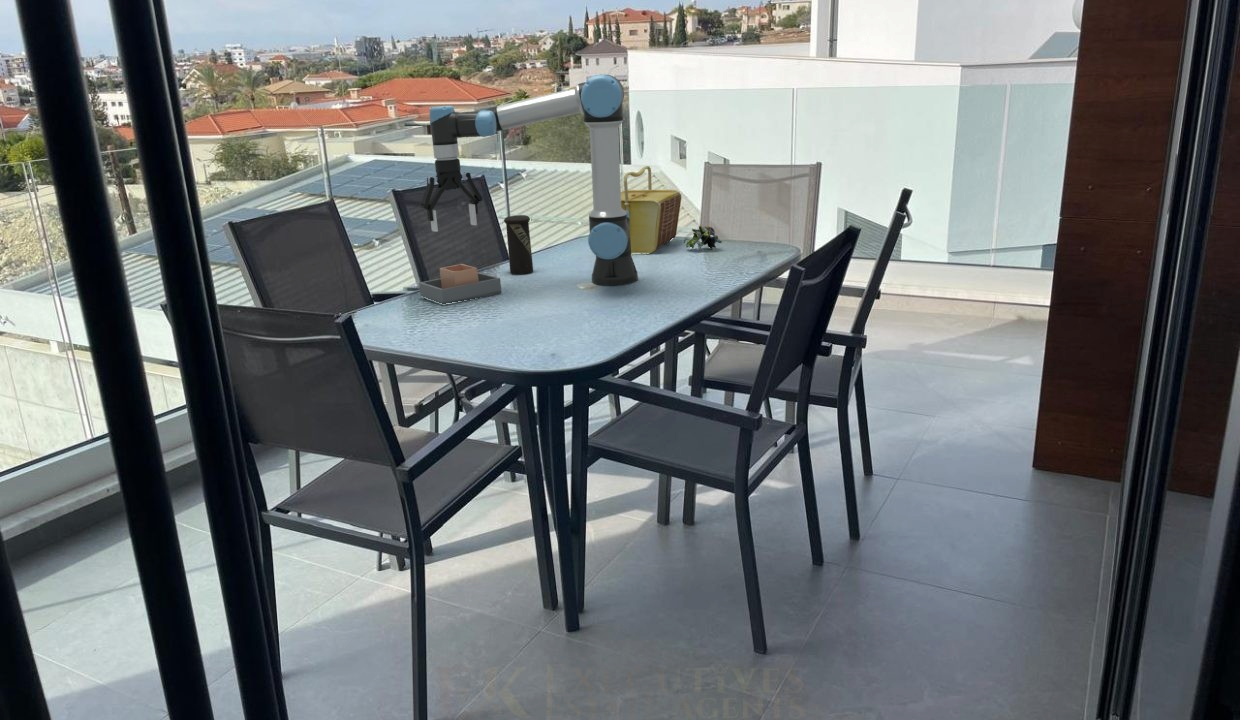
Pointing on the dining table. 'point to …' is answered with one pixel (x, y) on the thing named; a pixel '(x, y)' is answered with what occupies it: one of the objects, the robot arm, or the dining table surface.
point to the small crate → (458, 275)
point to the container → (519, 244)
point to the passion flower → (703, 237)
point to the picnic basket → (650, 214)
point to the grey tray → (461, 289)
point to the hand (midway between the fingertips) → (454, 228)
